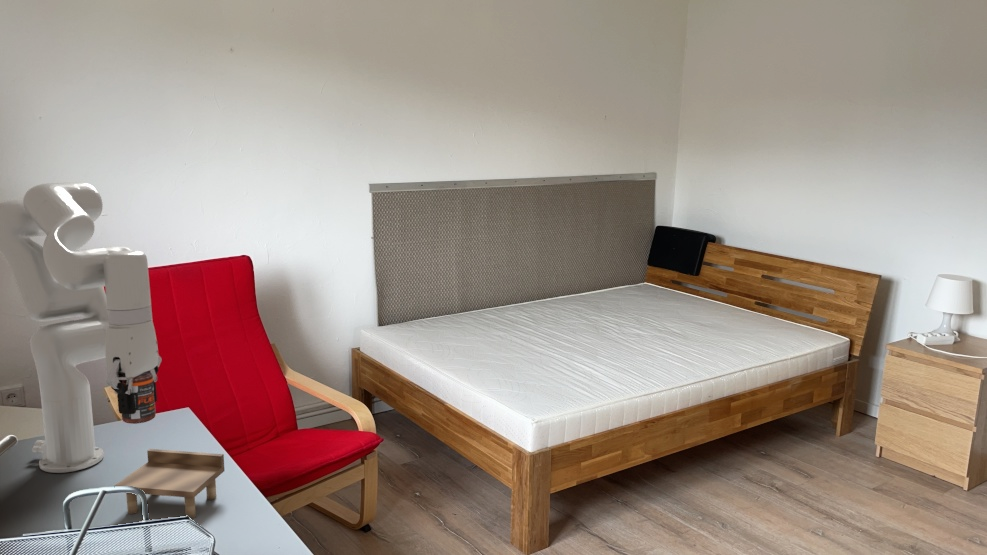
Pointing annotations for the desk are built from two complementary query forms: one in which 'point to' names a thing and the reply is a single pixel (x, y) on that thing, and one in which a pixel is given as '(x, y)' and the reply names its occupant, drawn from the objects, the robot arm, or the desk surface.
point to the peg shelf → (175, 477)
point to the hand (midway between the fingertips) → (138, 406)
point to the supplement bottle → (142, 399)
